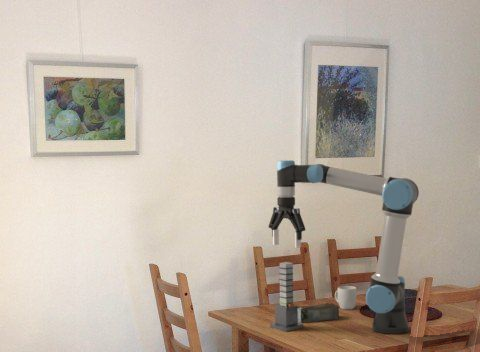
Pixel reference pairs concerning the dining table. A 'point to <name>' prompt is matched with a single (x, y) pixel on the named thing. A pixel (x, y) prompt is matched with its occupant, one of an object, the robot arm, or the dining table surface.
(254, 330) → the dining table surface
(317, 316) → the beverage carton
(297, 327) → the stand
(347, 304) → the mug
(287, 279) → the column
